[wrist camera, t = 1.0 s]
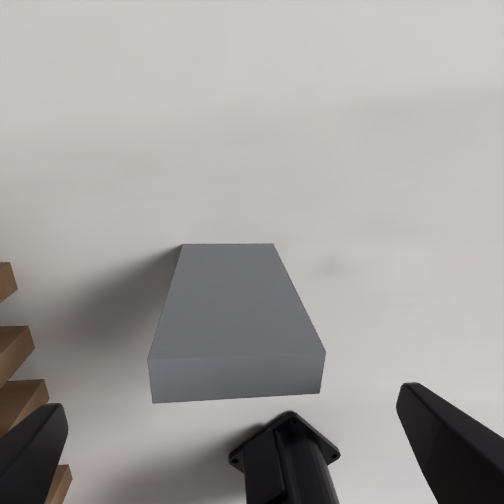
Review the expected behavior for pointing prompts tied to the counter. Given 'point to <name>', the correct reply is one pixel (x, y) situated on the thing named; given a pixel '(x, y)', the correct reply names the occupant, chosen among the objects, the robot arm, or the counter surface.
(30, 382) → the domino
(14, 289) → the domino
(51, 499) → the domino
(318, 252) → the counter surface
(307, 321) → the grey domino
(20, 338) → the domino
